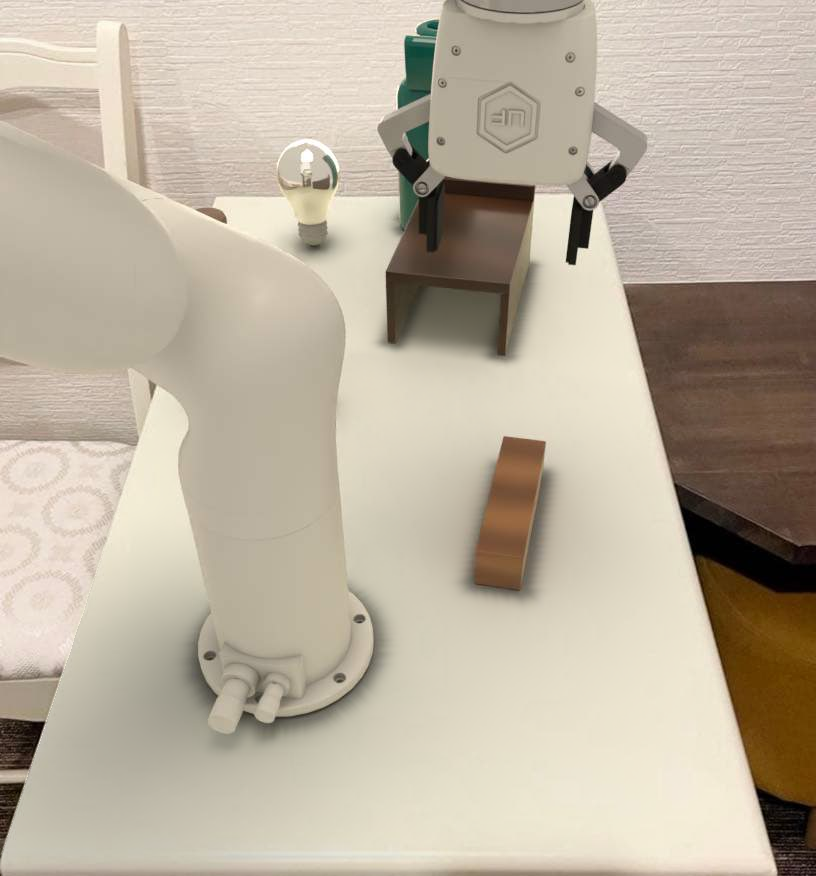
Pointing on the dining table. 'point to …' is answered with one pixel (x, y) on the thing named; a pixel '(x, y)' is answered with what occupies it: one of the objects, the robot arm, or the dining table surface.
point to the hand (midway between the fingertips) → (502, 249)
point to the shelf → (467, 251)
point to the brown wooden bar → (510, 514)
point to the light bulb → (309, 186)
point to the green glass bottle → (411, 90)
